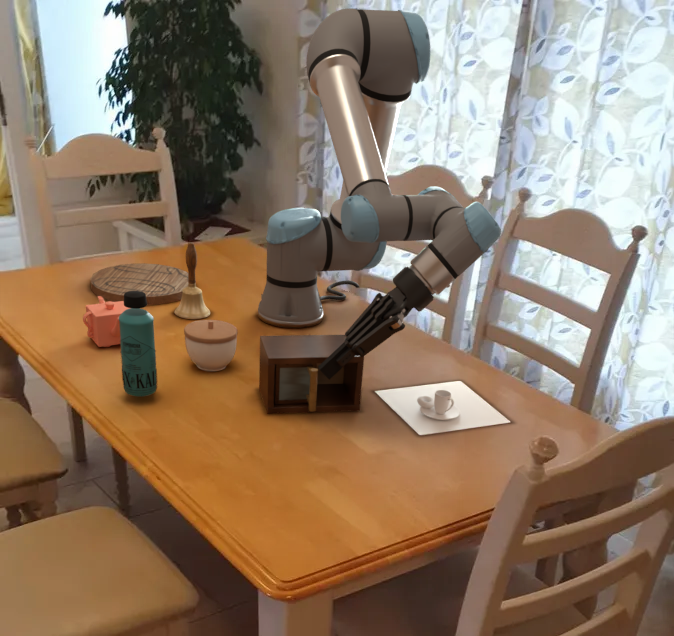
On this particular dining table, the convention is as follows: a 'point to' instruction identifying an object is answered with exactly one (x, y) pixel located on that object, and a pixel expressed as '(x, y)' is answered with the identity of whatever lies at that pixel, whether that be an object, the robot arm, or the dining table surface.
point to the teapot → (104, 322)
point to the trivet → (140, 282)
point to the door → (296, 384)
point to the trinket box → (210, 343)
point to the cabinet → (316, 349)
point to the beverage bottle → (137, 346)
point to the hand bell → (192, 291)
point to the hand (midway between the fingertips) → (323, 373)
